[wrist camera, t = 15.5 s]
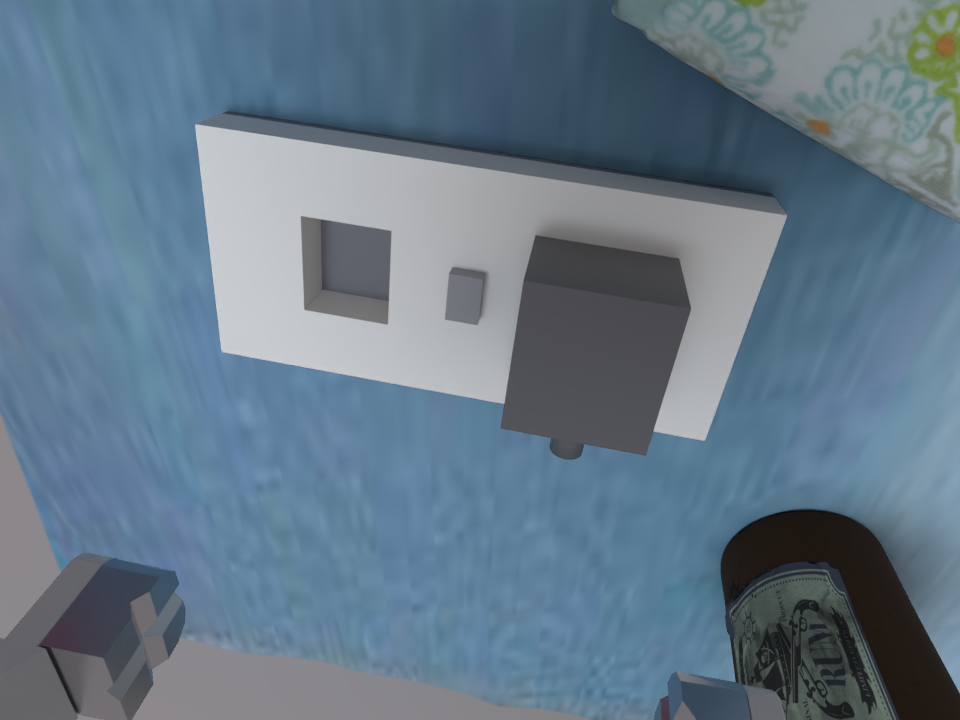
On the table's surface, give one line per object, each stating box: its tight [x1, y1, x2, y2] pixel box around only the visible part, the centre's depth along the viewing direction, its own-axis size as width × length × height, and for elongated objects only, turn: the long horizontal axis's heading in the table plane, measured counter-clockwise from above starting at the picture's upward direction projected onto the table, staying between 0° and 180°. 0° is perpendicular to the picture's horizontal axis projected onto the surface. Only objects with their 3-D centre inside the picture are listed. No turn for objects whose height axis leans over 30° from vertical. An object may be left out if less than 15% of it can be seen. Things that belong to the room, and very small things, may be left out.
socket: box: [195, 111, 787, 441], centre depth 33 cm, size 12×26×4 cm, turn 84°
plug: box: [501, 235, 691, 460], centre depth 31 cm, size 10×6×7 cm
